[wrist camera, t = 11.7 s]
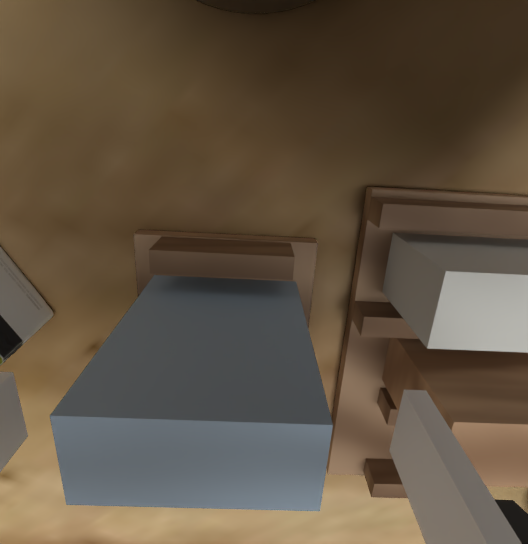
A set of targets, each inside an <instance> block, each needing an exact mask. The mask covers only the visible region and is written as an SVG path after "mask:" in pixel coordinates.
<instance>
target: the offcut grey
mask: <svg viewBox="0 0 528 544" xmlns="http://www.w3.org/2000/svg"><path fill="white" fill-rule="evenodd" d="M382 292H383V293H384V295H385V296H386V297H387V299H388V300H389V301H390V302H391V304H392V305H393V306H394V307H395V309H396V310H397V311H398V312H399V314H400V315H401V316H402V318H403V319H404V320H405V321H406V323H407V324H408V325H409V326H410V328H411V329H412V330H413V331H414V333H415V334H416V335H417V336H418V338H419V339H420V340H421V342H422V343H423V344H424V345H425V347H426V348H427V349H451V350H476V351H501V352H525V353H528V240H526V239H506V238H487V237H467V236H447V235H428V234H408V233H393V235H392V241H391V246H390V252H389V257H388V262H387V268H386V273H385V279H384V284H383V290H382Z"/></svg>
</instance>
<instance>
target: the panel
mask: <svg viewBox="0 0 528 544" xmlns="http://www.w3.org/2000/svg"><path fill="white" fill-rule="evenodd" d="M50 419H51V425H52V430H53V435H54V441H55V446H56V451H57V457H58V462H59V468H60V473H61V478H62V484H63V489H64V494H65V500H66V505H95V506H135V507H174V508H214V509H253V510H293V511H320V506H321V500H322V493H323V487H324V480H325V474H326V467H327V461H328V454H329V448H330V441H331V435H332V428H333V423H332V419H331V415H330V412H329V408H328V404H327V400H326V396H325V392H324V388H323V384H322V380H321V377H320V373H319V369H318V365H317V361H316V357H315V353H314V349H313V346H312V342H311V338H310V334H309V330H308V326H307V322H306V318H305V314H304V311H303V307H302V303H301V299H300V295H299V291H298V287H297V283H296V282H294V281H272V280H251V279H229V278H207V277H185V276H164V275H154V276H153V277H152V279H151V280H150V282H149V283H148V284H147V286H146V287H145V288H144V290H143V291H142V292H141V294H140V295H139V296H138V298H137V299H136V300H135V302H134V303H133V304H132V306H131V307H130V308H129V310H128V311H127V312H126V314H125V315H124V317H123V318H122V319H121V321H120V322H119V323H118V325H117V326H116V327H115V329H114V330H113V331H112V333H111V334H110V335H109V337H108V338H107V339H106V341H105V342H104V343H103V345H102V346H101V347H100V349H99V350H98V352H97V353H96V354H95V356H94V357H93V358H92V360H91V361H90V362H89V364H88V365H87V366H86V368H85V369H84V370H83V372H82V373H81V374H80V376H79V377H78V378H77V380H76V381H75V383H74V384H73V385H72V387H71V388H70V389H69V391H68V392H67V393H66V395H65V396H64V397H63V399H62V400H61V401H60V403H59V404H58V405H57V407H56V408H55V409H54V411H53V412H52V413H51V415H50Z"/></svg>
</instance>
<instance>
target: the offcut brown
mask: <svg viewBox="0 0 528 544" xmlns="http://www.w3.org/2000/svg"><path fill="white" fill-rule="evenodd" d="M382 380H383V382H384V384H385V386H386V388H387V390H388V392H389V394H390V396H391V398H392V400H393V402H394V404H395V406H396V408H397V410H398V412H399V408H400V404H401V400H402V395H403V391H404V390H426V391H427V393H428V394H429V396H430V397H431V399H432V401H433V402H434V404H435V405H436V407H437V409H438V410H439V412H440V413H441V415H442V417H443V418H444V420H445V421H446V423H447V425H448V426H449V428H450V429H451V431H452V433H453V434H454V436H455V437H456V439H457V441H458V442H459V444H460V445H461V447H462V449H463V450H464V452H465V453H466V455H467V457H468V458H469V460H470V461H471V463H472V465H473V466H474V468H475V469H476V471H477V473H478V474H479V476H480V477H481V479H482V481H483V482H484V484H485V486H504V487H528V353H525V352H501V351H476V350H451V349H427V348H426V347H425V345H424V344H423V343H422V342H421V340H420V339H408V338H390V341H389V346H388V351H387V356H386V361H385V366H384V371H383V376H382Z"/></svg>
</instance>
